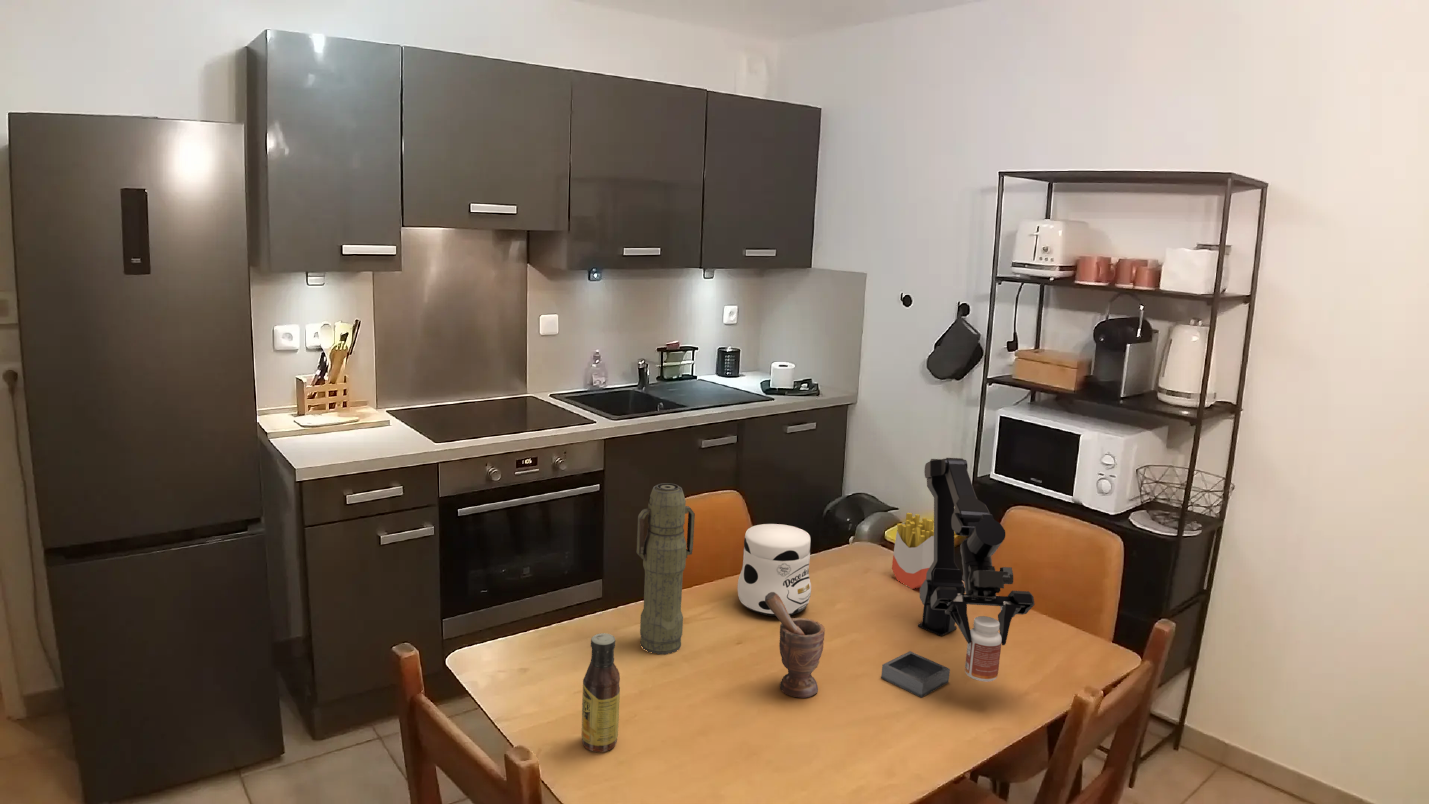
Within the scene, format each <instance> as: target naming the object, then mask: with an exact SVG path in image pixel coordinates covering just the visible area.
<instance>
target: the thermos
mask: <svg viewBox="0 0 1429 804" xmlns="http://www.w3.org/2000/svg"><path fill="white" fill-rule="evenodd" d="M684 493H685V492H684V491H683V488H682V487H681V486H679V485H678V484H675V483H668V482H667V483H665V482H664V483H658V484H656V485H655V486H654V485H653V488H652V489H651V492H650V495H649V498H648V505H647V508H643V509H642V510H641V511H640V512H639V514H638V516H637V532H636V533H637V534H636V537H637V538H636V554H637V555H638V557H640V558H641V559H642V560H643V561H642V566H643V569H644V587H643V588H644V591H643V593H644V594H643V609H642V610H641V613H640V623H639V625H640V626H639V627H640V628H639V634H640V643H639V644H641V645H640V647H641V646H642V647H643V649H645V650H647V651H648V652H647V651H646V652H647V653H649V652H652V653H651V654H653V653H657V654H656V655H669V654H668V653H670V654H673V653H672V652H674V653H676V652H678V651H679V650H681V646H682V636H683V629H684V615H683V612H682V596H683V595H682V594H683V593H682V592H683V575H684V574H683V573H684V571H685V568H686V562H687V560H686V559H688V556H690V555H692V554H693V550H694V537H695V536H694V535H695V534H694V533H695V520H696V519H695V516H696V515H695V511H693V509H692V508H691V507H690V506H689V505H687V504H686V499H685V498H686V497H685V494H684ZM686 515H687V530H686V531H687V534H686V535H687V536H686V538H685V529H684V526H685V520H686ZM646 517H647V523H648V527H647V532H646V536H645V520H646ZM644 537H645V538H644ZM643 649H642V650H643ZM645 650H644V651H645ZM677 650H678V651H677Z"/></svg>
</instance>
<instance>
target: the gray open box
mask: <svg viewBox="0 0 1429 804" xmlns="http://www.w3.org/2000/svg"><path fill="white" fill-rule="evenodd" d="M950 671H951V668H949V667H947V666H946V665H945V666H944V665H942V664H940V663H938V662H936V661H933V660H931V659H929V658H927V657H925V656H922V655H920V654H917V653H916V652H913V651H911V650H909V651H907V652H905V653H903V654H902V655H899V656H897V657H895V658H893V659H891V660H889V661H887V662H885V663H883V664H882V666H881V676H880V679H882V680H884V681H886V682H888V683H890V684H892V685H894V686H896V687H899V688H901V689H903V690H904V691H906V692H909V693H911V694H913V695H915V696H917V697H919V698H924V697H925V696H927V695H928V694H930V693H932V692H934V691H936V690H938V689H940V688H942V687H943V686H945V685H947V684H948V683H949V681H950V680H949V679H950Z"/></svg>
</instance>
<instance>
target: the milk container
mask: <svg viewBox="0 0 1429 804" xmlns="http://www.w3.org/2000/svg"><path fill="white" fill-rule="evenodd" d="M811 546H812V544H811V535H810V534H809V533H808V532H807V531H806V530H804V529H801V528H799V527H797V526H793V525H787V524H780V523H779V524H777V523H763V524H757V525H753V526H751V527H749V528H748V529H747V530H746V532H745V535H744V539H743V556H742V557H743V558H742V560H743V561H742V567H741V570H740V574H739V577H738V581H737V595H738V600H739V601H740V603H741V604H742V605H743V606H744V607H745V608H747V609H748V610H750V611H752V612H754V613H756V614H761V615H763V616H771V617H776V615H775V614H774V613H773V612H772V611H771V610H770V608H769V607H768V605H767V604H766V602H765V596H766V595H767V594H768V593H770V592H775V593H776V594H777V595H778V596H779V597H780V598H781V600H782V602H783V604H784V606H785V608H786V610H787V612H788V614H789V616H792V615H795V614H798V613H800V612H802V611H804V610H805V609H806V608H807V607H808V605H809V602H810V598H811V594H812V583H811V580H810V573H809V572H810V571H809V570H810V569H809V568H810V561H811V559H810V558H811V549H812V547H811Z"/></svg>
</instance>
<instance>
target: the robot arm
mask: <svg viewBox="0 0 1429 804" xmlns="http://www.w3.org/2000/svg"><path fill="white" fill-rule="evenodd" d="M968 469H969V468H968V461H967V459H964V458H962V457H961V458H959V457H945V458H931V459H930V460H929V461H927V462H926V463H925V465H924V470H923V471H924V472H923V473H924V478H925V479H926V487H927V488H928V491H929V492H930V493H931V495H932V497H933V521H934V523H933V530H934V561H933V563H932V565H931V566H930V568H929V569H928V571H927V573H926V580H925V581H924V582H923V584H922V586H921V587H920V588H919V599H920V601H921V603H922V605H923V609H922V610H923V611H922V620H921V622H919V623H917V626H918V627H919V628H921V629H923V630H926V631H928V632H930V633H933V634H936V635H937V636H941V637H943V636H944V635H947V634H949V633H951V632H952V631H955V630H957V628H958V629H959V630H960V632H961V634H962V636H963V637H964V639H965V641H966V643H967V644H968V643H969V644H970V643H971V633H970V630H971V629H970V628H971V627H970V623H969V617H968V605H975V606H991V607H992V606H993V607H999V608H1000V612H999V613H998V614H997V620H998V621H999V623H1000V627H999V631H998V632H999V633H1000V635H1001V637H1002V643H1001V646H1006V644H1007V638H1008V634H1009V631H1010V625H1011V622H1012V620H1013V618H1014V617H1015V616H1017V615H1020V616H1021V615H1026V614H1028V613H1029V612H1030V610H1031V609H1032V608H1033V607H1034V606H1035V604H1036V603H1035V599H1034V595H1033V594H1032V593H1031V592H1030V591H1027V590H1026V591H1025V590H1011V591H1010V593H1008V594H1007V595H1004V596H1003V595H997V594H999V593H1000V592H1001V589H1005V585H1013V584H1014V571H1013V567H1009V566H1008V567H1007V566H1002V567H1001V566H1000V567H999V570H996V568H995V566H993V561H992V556H993V555H994V554H995V553H996V552H997V550H998V549H999V548H1000V547H1001V544H1003V542H1004V541H1005V539H1006V530H1005V529H1004V526H1003V525H1002V524H1001V523H1000V522H998V520H995V519H994V516H993V514H991V512H990V510H989V509H988V507H987V505H986V504H985V503H984V502H982V501H981V500H979V499H978V497H977V495H976V492H975V490H974V486H973V484H972V481H971V477H970V474H969V471H968ZM955 535H956V536H959V537H960V536H961V537H967V538H965V539H964V540H963V541H962V542H961V544H960V545H959V546H960V547H959V548H960V551H959V553H960V555H961V564H962V570H961V569H960V568H959V567H958V565H957V564H956V562H955ZM956 625H957V626H956Z"/></svg>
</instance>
